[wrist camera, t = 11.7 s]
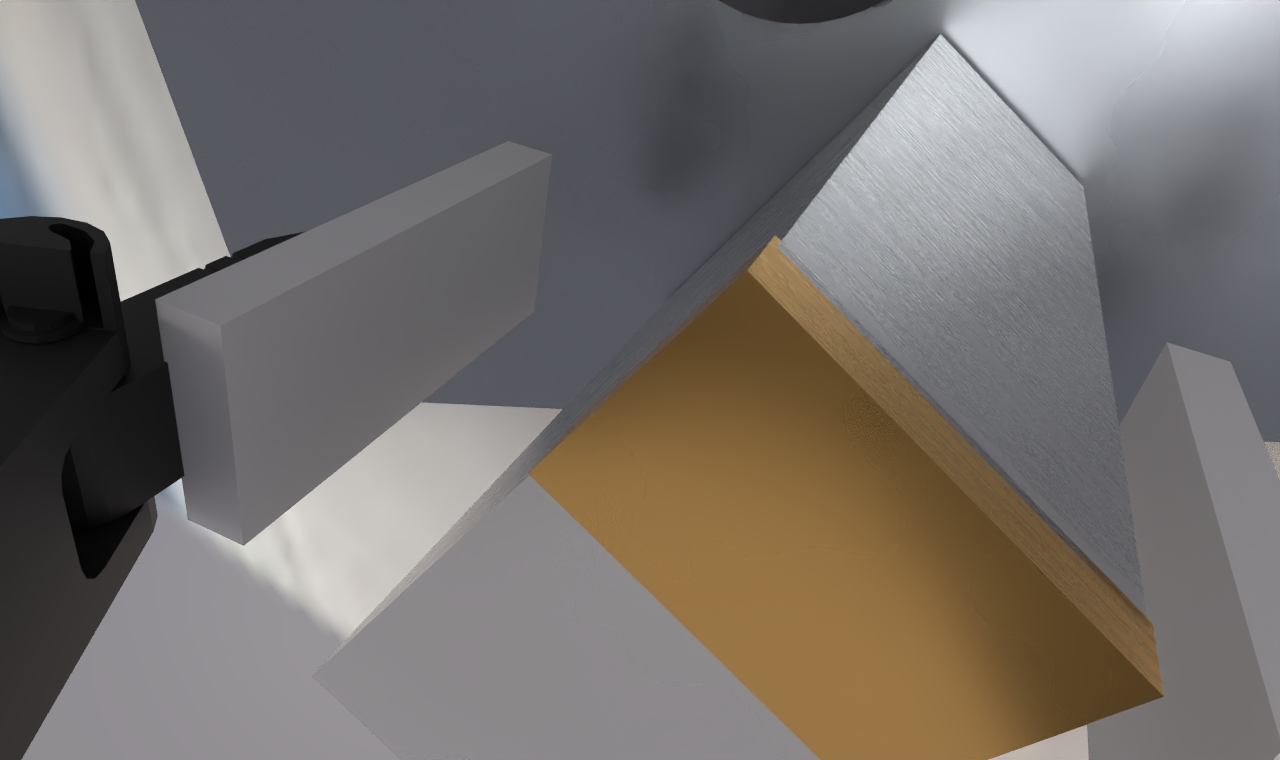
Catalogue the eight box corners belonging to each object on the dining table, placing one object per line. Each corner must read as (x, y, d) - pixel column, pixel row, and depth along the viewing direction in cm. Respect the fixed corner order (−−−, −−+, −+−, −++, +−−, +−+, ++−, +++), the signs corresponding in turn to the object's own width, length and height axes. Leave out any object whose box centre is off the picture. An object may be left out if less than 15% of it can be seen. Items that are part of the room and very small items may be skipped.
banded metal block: (654, 308, 17) (274, 708, 9) (938, 31, 13) (747, 270, 5) (771, 426, 17) (510, 930, 9) (1085, 188, 13) (1162, 696, 5)
